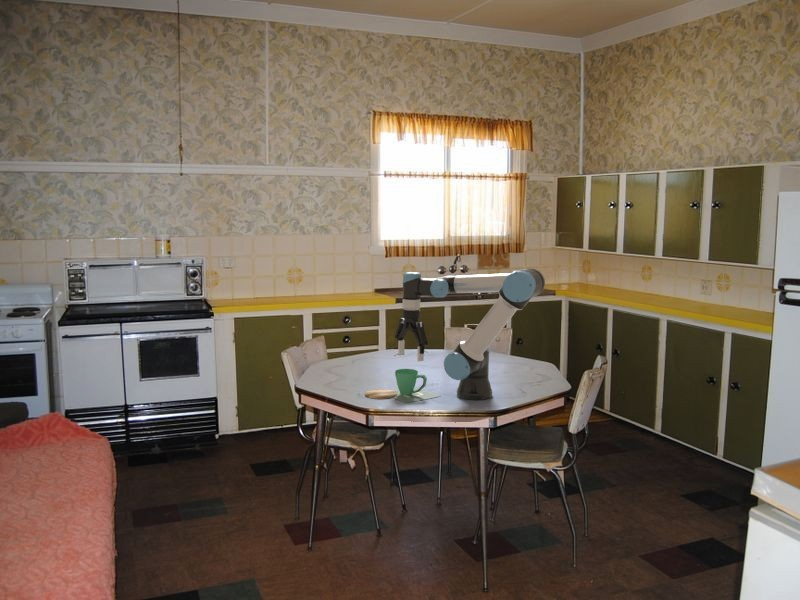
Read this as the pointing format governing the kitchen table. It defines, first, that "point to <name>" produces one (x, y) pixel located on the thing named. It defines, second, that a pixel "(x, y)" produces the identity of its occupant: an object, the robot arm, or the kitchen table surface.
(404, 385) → the mug
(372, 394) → the coaster
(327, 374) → the kitchen table surface
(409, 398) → the tile
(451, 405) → the kitchen table surface
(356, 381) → the kitchen table surface
